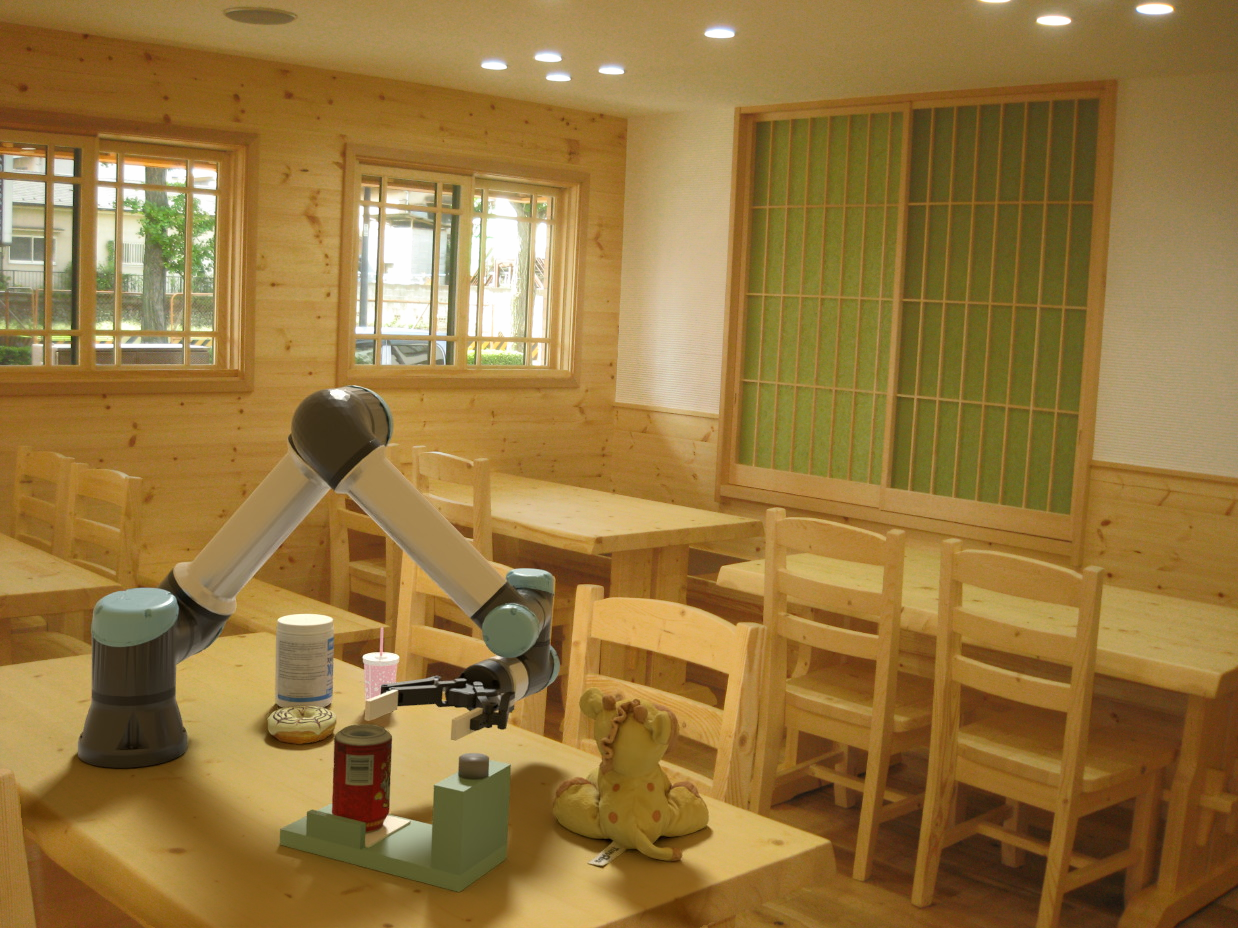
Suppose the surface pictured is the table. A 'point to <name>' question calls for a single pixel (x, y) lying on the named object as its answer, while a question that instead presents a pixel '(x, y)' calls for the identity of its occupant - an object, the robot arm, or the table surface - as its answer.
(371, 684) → the beverage cup
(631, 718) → the giraffe plush
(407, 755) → the table surface
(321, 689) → the supplement tub
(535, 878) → the table surface
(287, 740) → the decorated donut
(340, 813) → the soda can
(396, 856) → the green stepped fixture
